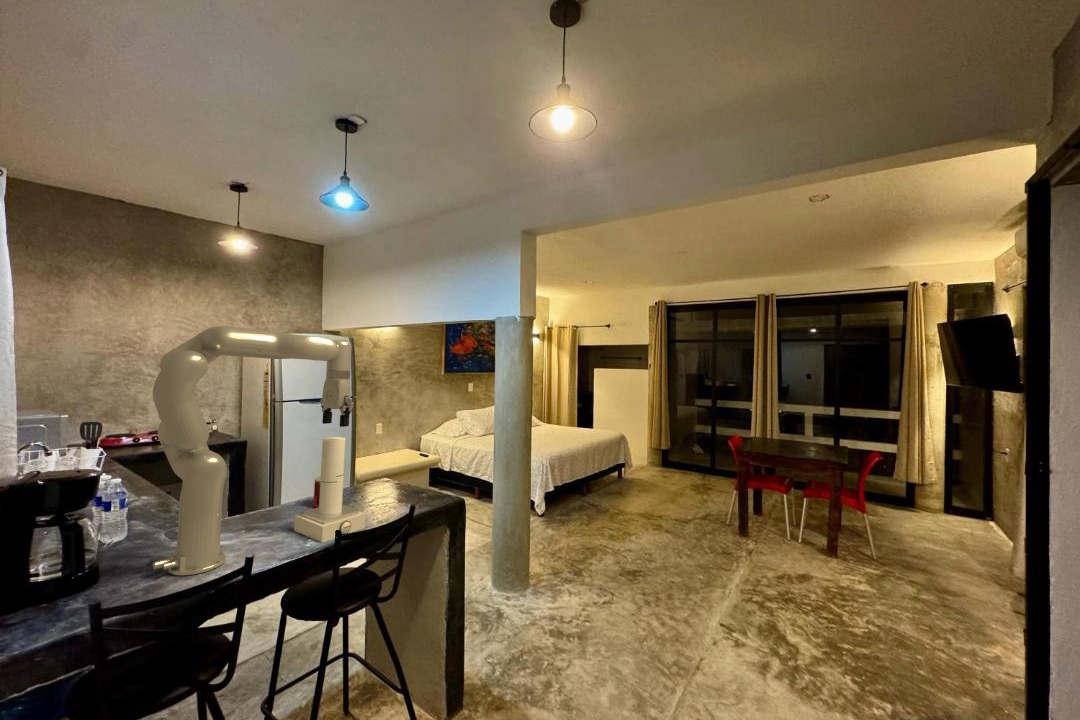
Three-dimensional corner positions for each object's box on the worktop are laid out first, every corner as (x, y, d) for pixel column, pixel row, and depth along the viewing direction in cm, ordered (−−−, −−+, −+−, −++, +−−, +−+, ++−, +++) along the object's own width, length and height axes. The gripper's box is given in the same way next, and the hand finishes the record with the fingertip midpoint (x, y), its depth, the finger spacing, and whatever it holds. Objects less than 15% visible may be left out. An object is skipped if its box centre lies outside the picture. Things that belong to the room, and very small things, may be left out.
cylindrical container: (346, 510, 151) (349, 438, 151) (327, 516, 145) (330, 441, 145) (333, 506, 155) (337, 436, 155) (314, 511, 148) (318, 438, 149)
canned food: (315, 510, 168) (317, 481, 168) (311, 504, 174) (312, 477, 174) (336, 506, 173) (338, 479, 173) (331, 501, 179) (333, 474, 179)
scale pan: (324, 523, 141) (324, 520, 141) (301, 515, 148) (301, 511, 148) (359, 513, 152) (359, 509, 152) (336, 505, 159) (336, 502, 159)
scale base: (323, 543, 138) (324, 527, 138) (294, 530, 147) (294, 516, 147) (366, 528, 152) (367, 514, 152) (337, 517, 161) (337, 504, 161)
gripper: (313, 374, 152) (310, 423, 152) (343, 377, 143) (341, 428, 143) (333, 374, 158) (330, 421, 158) (363, 377, 149) (360, 426, 149)
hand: (335, 424), depth 150 cm, fingers open, 9 cm apart
